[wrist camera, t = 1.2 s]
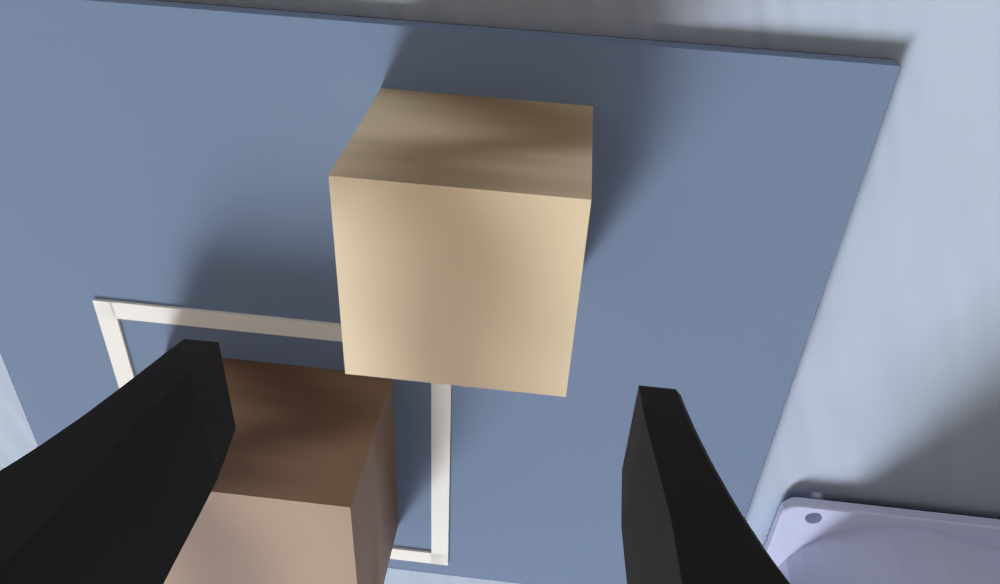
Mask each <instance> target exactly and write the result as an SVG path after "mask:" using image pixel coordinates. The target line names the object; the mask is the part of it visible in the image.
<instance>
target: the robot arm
mask: <svg viewBox="0 0 1000 584" xmlns="http://www.w3.org/2000/svg"><path fill="white" fill-rule="evenodd" d="M235 429H236V426H235V421H234V416H233V411H232V406H231V401H230V396H229V391H228V386H227V381H226V376H225V371H224V366H223V361H222V356H221V351H220V346H219V342H210V341H200V340H190V339H184V340H182V341H181V342H179V343H178V344H177V345H175V346H174V347H173V348H171V349H170V350H169V351H167V352H166V353H165V354H163V355H162V356H161V357H160V358H158V359H157V360H156V361H154V362H153V363H152V364H151V365H149V366H148V367H147V368H145V369H144V370H143V371H142V372H140V373H139V374H138V375H136V376H135V377H134V378H133V379H131V380H130V381H129V382H127V383H126V384H125V385H123V386H122V387H121V388H119V389H118V390H117V391H115V392H114V393H113V394H112V395H110V396H109V397H108V398H106V399H105V400H104V401H102V402H101V403H100V404H98V405H97V406H96V407H94V408H93V409H92V410H90V411H89V412H88V413H86V414H85V415H83V416H82V417H81V418H79V419H78V420H76V421H75V422H73V423H72V424H70V425H69V426H67V427H66V428H65V429H63V430H62V431H60V432H59V433H57V434H56V435H54V436H53V437H51V438H50V439H49V440H47V441H46V442H44V443H43V444H41V445H40V446H38V447H37V448H35V449H34V450H33V451H31V452H29V453H28V454H26V455H25V456H23V457H22V458H20V459H19V460H17V461H15V462H14V463H12V464H10V465H9V466H7V467H6V468H4V469H2V470H1V471H0V584H164V582H165V580H166V578H167V576H168V574H169V572H170V570H171V568H172V566H173V564H174V562H175V561H176V559H177V557H178V555H179V553H180V551H181V549H182V547H183V545H184V543H185V541H186V540H187V538H188V536H189V534H190V532H191V530H192V528H193V526H194V524H195V522H196V520H197V519H198V517H199V515H200V513H201V511H202V509H203V507H204V505H205V503H206V501H207V499H208V497H209V495H210V493H211V491H212V489H213V487H214V485H215V483H216V481H217V479H218V476H219V473H220V471H221V468H222V466H223V463H224V460H225V458H226V455H227V452H228V449H229V446H230V443H231V440H232V437H233V434H234V431H235ZM810 513H812V514H810ZM621 528H622V539H623V549H624V559H625V570H626V579H627V584H1000V519H992V518H983V517H974V516H965V515H956V514H947V513H938V512H929V511H920V510H910V509H901V508H892V507H883V506H874V505H865V504H856V503H847V502H838V501H829V500H820V499H810V498H801V497H792V498H789V499H787V500H785V501H783V502H782V503H781V505H780V506H779V509H778V512H777V514H776V517H775V520H774V522H773V525H772V528H771V530H770V533H769V535H768V538H767V541H766V543H765V546H764V547H763V546H762V544H761V543H760V541H759V540H758V538H757V537H756V535H755V534H754V532H753V531H752V529H751V528H750V526H749V524H748V523H747V521H746V520H745V518H744V517H743V515H742V514H741V512H740V510H739V509H738V507H737V505H736V504H735V502H734V500H733V499H732V497H731V495H730V494H729V492H728V490H727V488H726V486H725V485H724V483H723V481H722V479H721V478H720V476H719V474H718V472H717V471H716V469H715V467H714V465H713V463H712V461H711V459H710V458H709V456H708V454H707V452H706V450H705V448H704V446H703V444H702V442H701V440H700V438H699V436H698V434H697V432H696V429H695V427H694V425H693V423H692V421H691V419H690V416H689V414H688V412H687V409H686V407H685V405H684V402H683V400H682V397H681V395H680V394H679V393H678V391H677V390H676V389H669V388H660V387H650V386H640V385H639V387H638V392H637V397H636V402H635V407H634V412H633V417H632V422H631V427H630V432H629V437H628V442H627V447H626V452H625V457H624V462H623V467H622V499H621Z"/></svg>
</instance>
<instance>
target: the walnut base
mask: <svg viewBox="0 0 1000 584" xmlns="http://www.w3.org/2000/svg"><path fill="white" fill-rule="evenodd" d="M165 353H166V352H165ZM165 353H164V354H165ZM222 361H223V366H224V371H225V376H226V381H227V386H228V391H229V396H230V401H231V406H232V411H233V416H234V421H235V426H236V429H235V431H234V434H233V437H232V440H231V443H230V446H229V449H228V452H227V455H226V458H225V460H224V463H223V466H222V468H221V471H220V473H219V476H218V479H217V481H216V483H215V485H214V487H213V489H212V491H211V493H210V495H209V497H208V499H207V501H206V503H205V505H204V507H203V509H202V511H201V513H200V515H199V517H198V519H197V520H196V522H195V524H194V526H193V528H192V530H191V532H190V534H189V536H188V538H187V540H186V541H185V543H184V545H183V547H182V549H181V551H180V553H179V555H178V557H177V559H176V561H175V562H174V564H173V566H172V568H171V570H170V572H169V574H168V576H167V578H166V580H165V582H164V584H383V583H384V579H385V575H386V572H387V568H388V564H389V560H390V556H391V552H392V548H393V544H394V540H395V536H396V532H397V528H398V513H397V487H396V462H395V436H394V411H393V386H392V379H390V378H380V377H371V376H361V375H352V374H345V371H344V370H335V369H325V368H315V367H306V366H296V365H287V364H277V363H268V362H258V361H249V360H239V359H230V358H222Z"/></svg>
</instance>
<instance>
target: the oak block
mask: <svg viewBox="0 0 1000 584" xmlns="http://www.w3.org/2000/svg"><path fill="white" fill-rule="evenodd" d="M592 147H593V106H586V105H574V104H562V103H551V102H539V101H527V100H515V99H504V98H492V97H480V96H469V95H457V94H445V93H433V92H422V91H410V90H398V89H387V88H380V90H379V92H378V94H377V95H376V97H375V99H374V100H373V102H372V104H371V105H370V107H369V109H368V110H367V112H366V114H365V115H364V117H363V119H362V120H361V122H360V124H359V125H358V127H357V129H356V130H355V132H354V134H353V136H352V137H351V139H350V141H349V142H348V144H347V146H346V147H345V149H344V151H343V152H342V154H341V156H340V157H339V159H338V161H337V162H336V164H335V166H334V167H333V169H332V171H331V172H330V174H329V187H330V199H331V211H332V223H333V235H334V247H335V259H336V270H337V282H338V294H339V306H340V318H341V330H342V342H343V354H344V365H345V374H352V375H361V376H371V377H380V378H390V379H399V380H409V381H418V382H428V383H438V384H447V385H457V386H466V387H476V388H485V389H495V390H504V391H514V392H523V393H533V394H542V395H552V396H561V397H566V393H567V385H568V377H569V369H570V362H571V354H572V346H573V339H574V331H575V323H576V316H577V308H578V300H579V292H580V285H581V277H582V269H583V262H584V254H585V246H586V238H587V231H588V223H589V215H590V208H591V200H592Z"/></svg>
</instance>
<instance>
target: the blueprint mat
mask: <svg viewBox="0 0 1000 584" xmlns="http://www.w3.org/2000/svg"><path fill="white" fill-rule="evenodd" d="M900 68H901V66H900V64H899V63H898V62H897V61H896V60H890V59H878V58H865V57H853V56H840V55H828V54H816V53H803V52H791V51H778V50H766V49H754V48H741V47H729V46H716V45H704V44H691V43H679V42H667V41H654V40H642V39H629V38H617V37H605V36H592V35H580V34H567V33H555V32H542V31H530V30H518V29H505V28H493V27H480V26H468V25H456V24H443V23H431V22H418V21H406V20H394V19H381V18H369V17H356V16H344V15H331V14H319V13H307V12H294V11H282V10H269V9H257V8H245V7H232V6H220V5H207V4H195V3H182V2H170V1H158V0H0V354H1V356H2V359H3V361H4V363H5V366H6V368H7V371H8V373H9V376H10V378H11V381H12V383H13V386H14V388H15V391H16V393H17V395H18V398H19V400H20V403H21V405H22V408H23V410H24V413H25V415H26V418H27V420H28V423H29V425H30V427H31V430H32V432H33V435H34V437H35V440H36V442H37V445H38V446H40V445H41V444H43V443H44V442H46V441H47V440H49V439H50V438H51V437H53V436H54V435H56V434H57V433H59V432H60V431H62V430H63V429H65V428H66V427H67V426H69V425H70V424H72V423H73V422H75V421H76V420H78V419H79V418H81V417H82V416H83V415H85V414H86V413H88V412H89V411H90V410H92V409H93V408H94V407H96V406H97V405H98V404H100V403H101V402H102V401H104V400H105V399H106V398H108V397H109V396H110V395H112V394H113V393H114V392H115V391H117V390H118V389H119V388H121V387H122V386H123V385H125V384H126V383H127V382H129V381H130V380H131V379H133V378H134V377H135V376H136V375H138V374H139V373H140V372H142V371H143V370H144V369H145V368H147V367H148V366H149V365H151V364H152V363H153V362H154V361H156V360H157V359H158V358H160V357H161V356H162V355H163V354H164V353H165V352H167V351H169V350H170V349H171V348H173V347H174V346H175V345H177V344H178V343H179V342H181V341H182V340H184V339H190V340H200V341H210V342H219V346H220V351H221V356H222V358H230V359H239V360H249V361H258V362H268V363H277V364H287V365H296V366H306V367H315V368H325V369H335V370H344V371H345V365H344V354H343V342H342V330H341V318H340V306H339V294H338V282H337V270H336V259H335V247H334V235H333V223H332V211H331V199H330V187H329V174H330V172H331V171H332V169H333V167H334V166H335V164H336V162H337V161H338V159H339V157H340V156H341V154H342V152H343V151H344V149H345V147H346V146H347V144H348V142H349V141H350V139H351V137H352V136H353V134H354V132H355V130H356V129H357V127H358V125H359V124H360V122H361V120H362V119H363V117H364V115H365V114H366V112H367V110H368V109H369V107H370V105H371V104H372V102H373V100H374V99H375V97H376V95H377V94H378V92H379V90H380V88H387V89H398V90H410V91H422V92H433V93H445V94H457V95H469V96H480V97H492V98H504V99H515V100H527V101H539V102H551V103H562V104H574V105H586V106H593V147H592V200H591V208H590V215H589V223H588V231H587V238H586V246H585V254H584V262H583V269H582V277H581V285H580V292H579V300H578V308H577V316H576V323H575V331H574V339H573V346H572V354H571V362H570V369H569V377H568V385H567V393H566V397H561V396H552V395H542V394H533V393H523V392H514V391H504V390H495V389H485V388H476V387H466V386H457V385H447V384H438V383H428V382H418V381H409V380H399V379H392V386H393V411H394V436H395V462H396V487H397V513H398V528H397V532H396V536H395V540H394V544H393V548H392V552H391V556H390V560H389V564H388V568H393V569H401V570H410V571H418V572H427V573H435V574H444V575H452V576H461V577H469V578H478V579H486V580H495V581H503V582H512V583H520V584H627V579H626V570H625V559H624V549H623V539H622V528H621V499H622V467H623V462H624V457H625V452H626V447H627V442H628V437H629V432H630V427H631V422H632V417H633V412H634V407H635V402H636V397H637V392H638V387H639V385H640V386H650V387H660V388H669V389H676V390H677V391H678V393H679V394H680V395H681V397H682V400H683V402H684V405H685V407H686V409H687V412H688V414H689V416H690V419H691V421H692V423H693V425H694V427H695V429H696V432H697V434H698V436H699V438H700V440H701V442H702V444H703V446H704V448H705V450H706V452H707V454H708V456H709V458H710V459H711V461H712V463H713V465H714V467H715V469H716V471H717V472H718V474H719V476H720V478H721V479H722V481H723V483H724V485H725V486H726V488H727V490H728V492H729V494H730V495H731V497H732V499H733V500H734V502H735V504H736V505H737V507H738V509H739V510H740V512H741V514H742V515H743V517H744V518H745V516H746V513H747V510H748V508H749V505H750V502H751V499H752V496H753V493H754V490H755V487H756V484H757V482H758V479H759V476H760V473H761V470H762V467H763V464H764V461H765V458H766V456H767V453H768V450H769V447H770V444H771V441H772V438H773V435H774V432H775V430H776V427H777V424H778V421H779V418H780V415H781V412H782V409H783V406H784V403H785V401H786V398H787V395H788V392H789V389H790V386H791V383H792V380H793V377H794V375H795V372H796V369H797V366H798V363H799V360H800V357H801V354H802V351H803V349H804V346H805V343H806V340H807V337H808V334H809V331H810V328H811V325H812V323H813V320H814V317H815V314H816V311H817V308H818V305H819V302H820V299H821V296H822V294H823V291H824V288H825V285H826V282H827V279H828V276H829V273H830V270H831V268H832V265H833V262H834V259H835V256H836V253H837V250H838V247H839V244H840V242H841V239H842V236H843V233H844V230H845V227H846V224H847V221H848V218H849V216H850V213H851V210H852V207H853V204H854V201H855V198H856V195H857V192H858V189H859V187H860V184H861V181H862V178H863V175H864V172H865V169H866V166H867V163H868V161H869V158H870V155H871V152H872V149H873V146H874V143H875V140H876V137H877V135H878V132H879V129H880V126H881V123H882V120H883V117H884V114H885V111H886V109H887V106H888V103H889V100H890V97H891V94H892V91H893V88H894V85H895V83H896V80H897V77H898V74H899V71H900Z"/></svg>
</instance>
